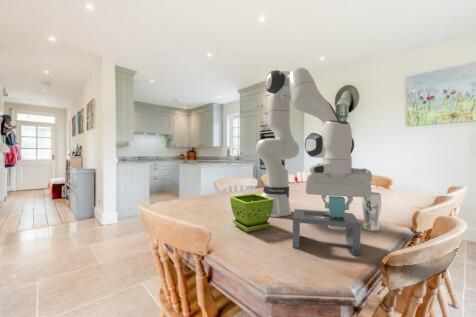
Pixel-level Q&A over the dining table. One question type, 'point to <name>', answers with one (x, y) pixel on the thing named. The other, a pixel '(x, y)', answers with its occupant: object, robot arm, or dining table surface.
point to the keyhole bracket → (347, 221)
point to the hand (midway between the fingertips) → (336, 208)
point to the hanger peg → (337, 209)
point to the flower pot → (251, 211)
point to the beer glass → (371, 212)
